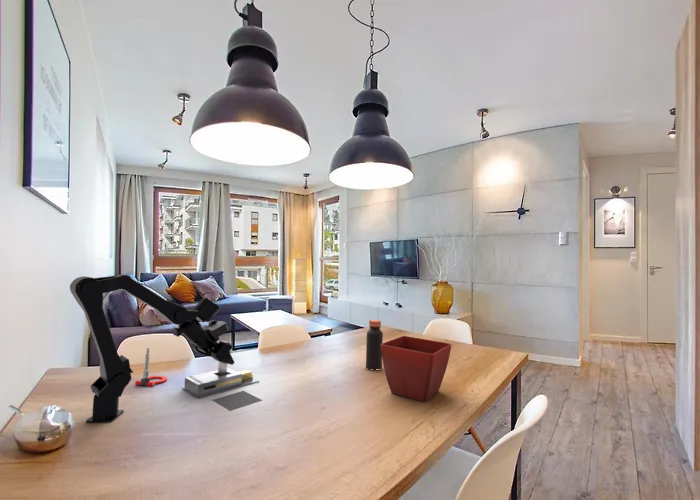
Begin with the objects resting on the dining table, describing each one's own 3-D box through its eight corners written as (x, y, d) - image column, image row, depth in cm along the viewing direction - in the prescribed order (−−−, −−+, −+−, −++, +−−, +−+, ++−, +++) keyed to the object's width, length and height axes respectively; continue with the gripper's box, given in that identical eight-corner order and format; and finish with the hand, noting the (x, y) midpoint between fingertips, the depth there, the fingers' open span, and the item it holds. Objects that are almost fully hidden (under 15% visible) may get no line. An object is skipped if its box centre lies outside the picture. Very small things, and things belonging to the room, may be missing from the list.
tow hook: (151, 378, 128) (132, 385, 119) (154, 342, 129) (135, 347, 120) (172, 379, 127) (154, 387, 117) (175, 344, 128) (157, 349, 118)
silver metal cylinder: (229, 384, 120) (231, 349, 121) (216, 386, 117) (219, 350, 118) (226, 381, 123) (228, 347, 124) (214, 383, 121) (216, 348, 122)
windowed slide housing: (198, 400, 108) (199, 386, 108) (182, 389, 116) (182, 376, 116) (258, 383, 124) (259, 370, 125) (240, 375, 132) (241, 363, 133)
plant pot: (451, 391, 123) (452, 343, 123) (431, 409, 107) (432, 354, 107) (402, 379, 133) (403, 335, 134) (377, 394, 118) (379, 344, 118)
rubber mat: (230, 412, 100) (230, 410, 100) (211, 401, 108) (211, 399, 108) (262, 401, 109) (262, 400, 109) (243, 391, 116) (243, 390, 116)
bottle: (362, 367, 146) (363, 320, 147) (373, 364, 151) (374, 318, 151) (373, 371, 141) (375, 322, 142) (385, 368, 146) (386, 321, 146)
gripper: (228, 317, 112) (256, 346, 120) (201, 311, 124) (228, 337, 132) (203, 346, 106) (234, 374, 114) (177, 336, 118) (207, 362, 126)
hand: (226, 360), depth 122 cm, fingers open, 9 cm apart
